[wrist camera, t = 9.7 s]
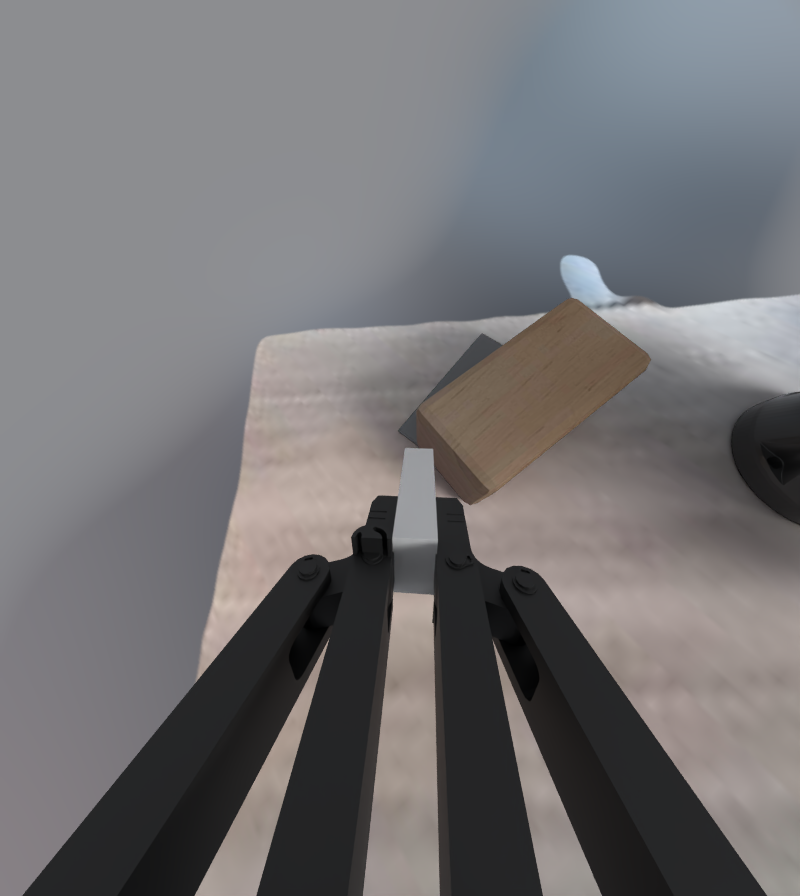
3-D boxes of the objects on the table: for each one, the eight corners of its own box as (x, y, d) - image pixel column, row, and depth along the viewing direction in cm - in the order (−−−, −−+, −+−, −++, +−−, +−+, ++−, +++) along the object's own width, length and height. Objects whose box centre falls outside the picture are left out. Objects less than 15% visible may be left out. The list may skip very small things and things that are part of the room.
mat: (481, 335, 39) (481, 333, 39) (560, 381, 36) (561, 379, 36) (398, 431, 35) (398, 430, 35) (479, 491, 32) (480, 491, 32)
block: (411, 405, 25) (574, 289, 28) (413, 442, 34) (533, 353, 37) (490, 496, 22) (662, 357, 25) (468, 509, 31) (594, 407, 34)
